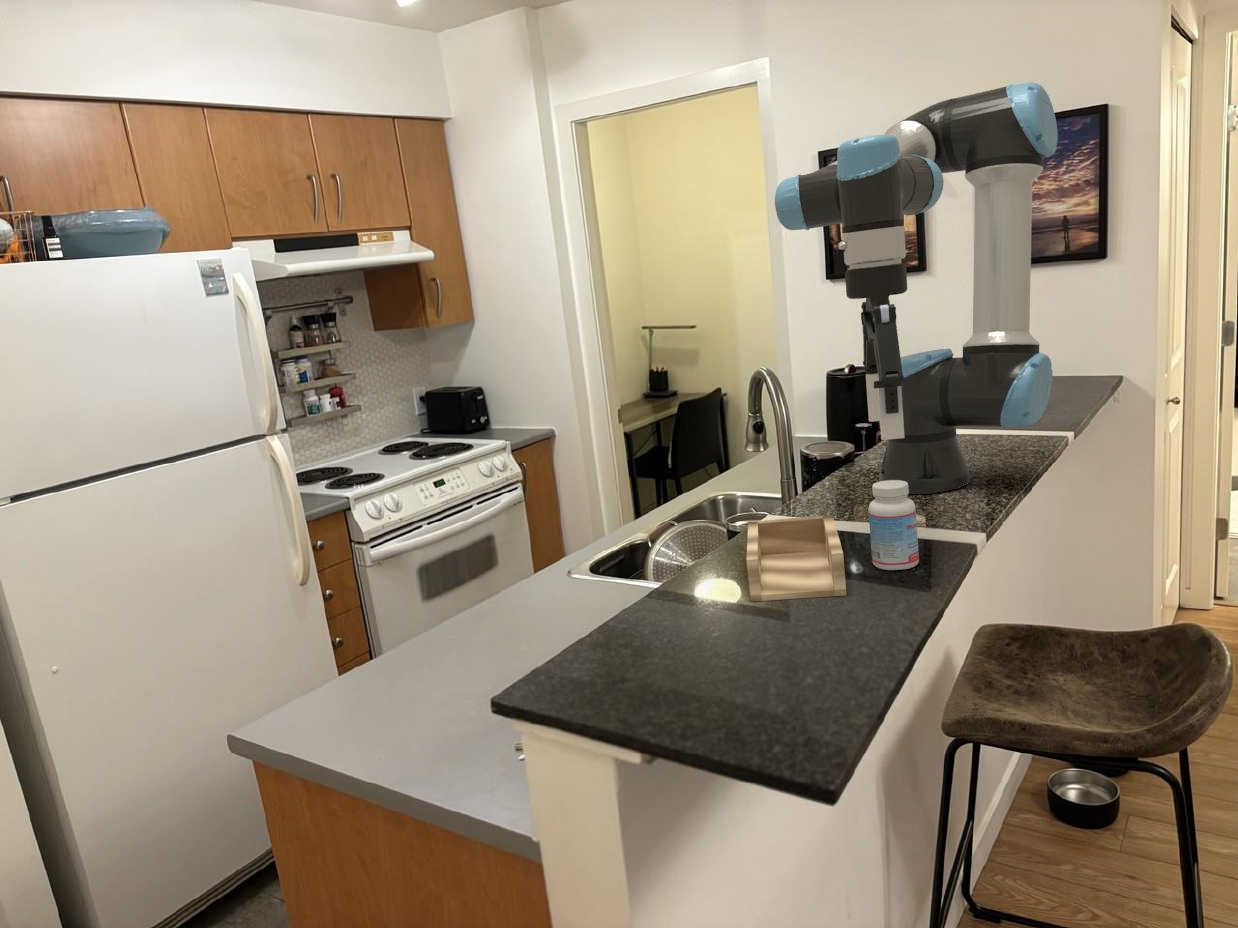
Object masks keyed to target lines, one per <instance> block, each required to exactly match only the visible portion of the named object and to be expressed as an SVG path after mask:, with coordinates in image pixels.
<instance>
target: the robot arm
mask: <svg viewBox="0 0 1238 928" xmlns="http://www.w3.org/2000/svg"><path fill="white" fill-rule="evenodd" d="M1058 133H1059V132H1058V125H1057V119H1056V114H1055V109H1054V107H1053V103H1052V101H1051V99H1050V96H1049V94H1048V91H1046V89H1045V88H1044V87H1043V86H1042V85H1041V84H1039V83H1037V82H1035V81H1031V82H1030V81H1029V82H1024V83H1019V84H1007V85H1006V86H1003V87H999V88H994V89H989V90H986V91H980V92H976V93H972V94H968V95H964V96H961V97H960V96H959V97H955V98H949V99H945V100H942V101H939V102H937V103H934V104H932V105H930V106H928V107H926V108H923V109H921V110H920V111H918V112H915V113H913V114H911V115H910V116H908V117H906V118H904V119H903V120H901V121H898V122H896V123H894V124H893V125H892V126H890V127H889V128H888V129H887V130H886V131H885V132H884V134H875V135H867V136H862V137H858V138H857V137H856V138H854V139H849V140H847V141H844V142H842V143H841V144H840V145H839V146H838V149H837V151H836V153H837V154H836V155H837V156H836V157H837V160H836V161H834V162H832V163H830V164H827V166H824V167H821V168H819V169H817V170H816V171H814V172H810V173H806V174H797V175H796V176H793V177H792V176H791V177H788V178H785V179H783V180H782V181H781V182H780V183H779V184H778V186H777V187H776V190H775V195H774V208H775V212H776V216H777V217H776V218H777V220H778V221H779V223H780V224H781V225H782V227H783V228H784V229H787V230H790V231H802V230H805V231H808V230H810V229H817V228H822V227H828V226H834V225H836V226H837V225H840V224H841V232H842V239H843V241H840V242H838V244H837V246H838V248H837V249H838V250H841V251H843V250H844V252H843V260H844V264H845V265H846V266H849V269H847V270H846V272H845V273H844V279H845V280H844V281H845V292H846V297H847V298H848V299H850V300H859V299H862V300H863V299H865V301H863V302H862V303H861V306H860V307H861V309H862V311H861V312H860V320H861V326H862V341H863V342H862V343H863V349H862V350H863V361H862V366H864V371H865V373H866V374H865V381H866V382H865V383H866V396H867V397H866V398H867V400H866V401H867V411H868V412H867V413H868V422H879V424H880V425H879V427H880V439H881V441H885V440H886V447H885V450H884V454H883V459H882V462H881V467H880V471H879V477H878V478H879V482H880V481H887V480H901V481H905V482H907V483H908V489H909V492H908V495H925V494H926V495H927V494H928V495H929V494H938V493H937V492H940V493H944V492H943V491H947V490H952V489H956V488H959V487H961V486H963V485H965V484H967V483H968V482H969V480H970V478H971V477H970V469H969V466H968V465H967V462H966V459H965V457H964V455H963V452H962V449H961V446H960V444H959V441H958V435H957V427H968V428H969V427H974V428H975V427H977V428H978V427H979V428H1002V429H1009V428H1014V427H1015V428H1016V427H1017V428H1019V427H1029V426H1031V425H1032V426H1033V425H1034V424H1036V423H1037V422H1038V421H1039V420H1040V419H1041V417H1042V416H1043V414H1044V412H1045V411H1046V408H1047V406H1048V403H1049V399H1050V395H1051V391H1052V384H1053V369H1052V368H1053V367H1052V366H1053V365H1052V364H1053V363H1052V361H1051V358H1050V357H1049V356H1048V355H1047V354H1044V353H1043V352H1040V342H1039V341H1038V340H1037V339H1036V338H1035V337H1034V336H1033V335H1031V332H1030V324H1031V323H1030V317H1031V316H1030V315H1031V312H1030V311H1031V278H1032V277H1031V274H1032V273H1031V272H1032V271H1031V270H1032V269H1031V266H1032V226H1033V225H1032V221H1033V220H1032V218H1033V214H1032V212H1033V211H1032V210H1033V183H1034V181H1035V180H1037V178H1038V177H1039V176H1040V175H1042V173H1043V172H1044V158H1050V156H1053V155H1054V154H1055V153H1056V151H1057V145H1058V142H1059V141H1058V140H1059V138H1058V137H1059V135H1058ZM964 171H965V172H964ZM956 172H964V173H965V175H964V176H965V177H964V178H965V180H966V181H967V182H968V183H969V184H971V186H973V187H974V222H973V223H974V229H973V230H974V232H973V287H972V288H973V294H972V295H973V296H972V297H973V298H972V303H973V305H972V335H971V336H970V338H969V339H968V340H966V342H965V343H964V344H963V345H962V356H961V357H954V353H953V351H952V349H951V348H940V349H933V350H928V351H922V352H917V353H913V354H909V355H903V356H901V350H900V344H899V343H900V341H899V336H898V335H899V334H898V326H897V312H896V311H897V308H896V306H895V304H894V303H891V302H890V296H895V295H903V294H904V293H906V292H907V291H908V277H907V275H908V274H907V265H905V263H902V259H905V258H906V256H907V252H906V249H907V248H906V236H905V235H906V234H905V225H904V216H907V217H908V216H912V215H914V216H916V215H918V214H921V213H924V212H927V211H928V210H930V209H932V208H933V207H934V206H935V205H936V204H937V203H938V201H939V199H940V198H941V195H942V193H943V189H944V175H943V174H948V173H956ZM890 303H891V304H890ZM969 483H970V482H969ZM959 489H960V488H959ZM956 490H957V489H956ZM952 491H953V490H952ZM947 492H948V491H947Z"/></svg>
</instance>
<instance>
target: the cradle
mask: <svg viewBox="0 0 1238 928" xmlns="http://www.w3.org/2000/svg"><path fill="white" fill-rule="evenodd" d="M747 523H748V524H747V539H746V540H747V543H746V568H747V578H748V589H749V596H750V597H749V598H750V602H766V601H768V602H769V601H780V600H795V599H796V600H797V599H809V598H810V599H811V598H825V597H838V596H839V597H840V596H842V597H843V596H847V585H846V583H847V582H846V573H845V571H846V570H845V559H844V557H845V556H844V551H843V548H842V543H841V540H840V537H839V532H838V530H837V526H836V522H835V519H834V516H833V514H829V515H828V514H827V515H815V516H806V517H805V516H804V517H801V516H800V517H789V518H778V519H776V518H775V519H766V520H765V519H764V520H755V521H747Z"/></svg>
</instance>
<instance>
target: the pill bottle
mask: <svg viewBox="0 0 1238 928" xmlns="http://www.w3.org/2000/svg"><path fill="white" fill-rule="evenodd" d="M871 489H872V490H871V491H872V496H873V497H874V499H873V500H871V502H870V503H869V505H868V521H869V522H868V523H869V533H870V535H869V536H870V547H871V562H872V564H873V566H875V567H876V568H878V569H881V570H884V571H899V570H908V569H912V568H914V567H916V566H917V565H918V564H919V562H920V554H919V552H920V551H919V539H918V538H919V537H918V526H917V511H916V510H917V509H916V504H915V502H914V501H913V500H912V499H911V498H909V497H908V495H909V494H908V492H909V489H908V483H907V482H905V481H901V480H887V481H880V480H879V481H877V482H874V483H873V484H872V486H871Z"/></svg>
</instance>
